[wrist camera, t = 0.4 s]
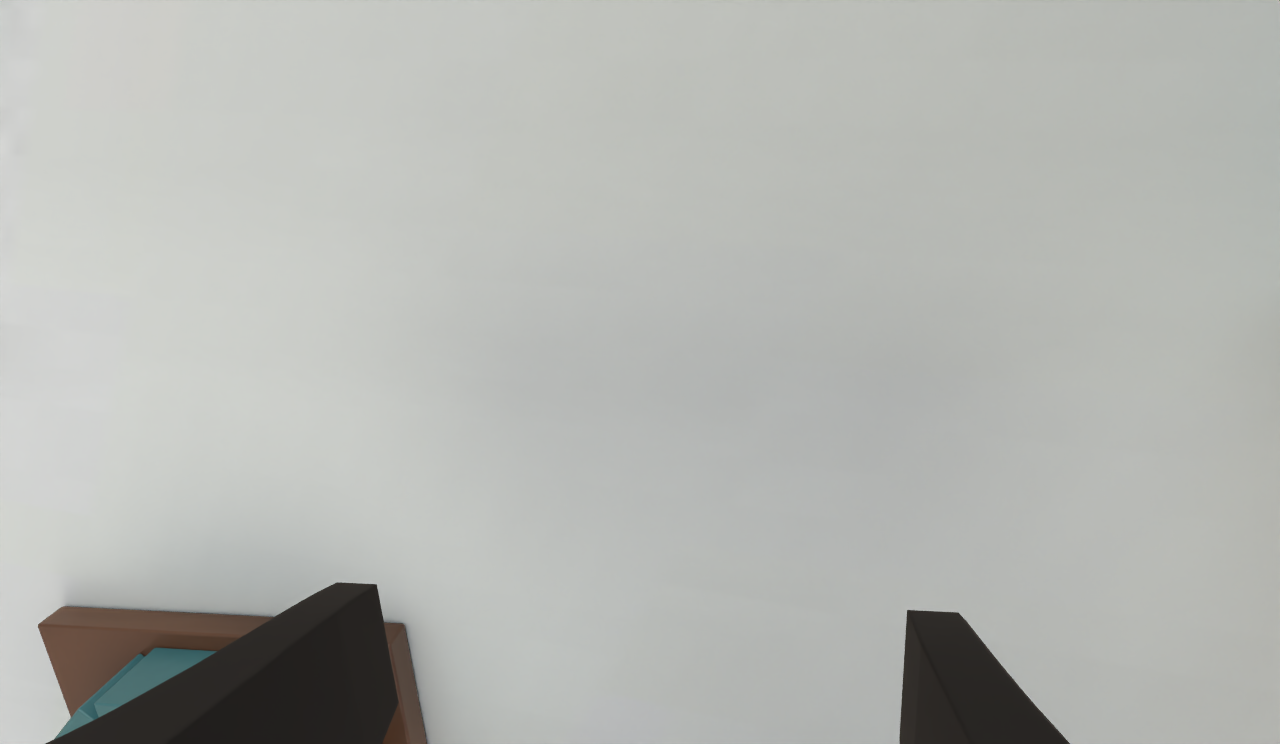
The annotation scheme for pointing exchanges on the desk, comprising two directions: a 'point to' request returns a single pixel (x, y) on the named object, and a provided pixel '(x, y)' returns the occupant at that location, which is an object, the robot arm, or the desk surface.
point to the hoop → (135, 682)
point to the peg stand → (111, 638)
